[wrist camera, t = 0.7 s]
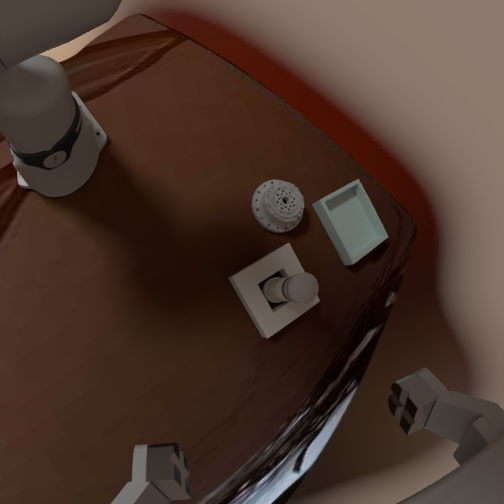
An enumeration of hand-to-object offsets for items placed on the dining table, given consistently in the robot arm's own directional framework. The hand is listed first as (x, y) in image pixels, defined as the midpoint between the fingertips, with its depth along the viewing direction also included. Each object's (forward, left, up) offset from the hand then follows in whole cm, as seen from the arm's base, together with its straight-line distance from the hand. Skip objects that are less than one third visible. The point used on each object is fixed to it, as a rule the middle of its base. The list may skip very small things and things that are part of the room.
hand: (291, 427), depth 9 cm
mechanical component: (-9, +26, -42) cm, 50 cm away
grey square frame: (+3, +17, -41) cm, 45 cm away
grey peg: (+3, +17, -41) cm, 45 cm away
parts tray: (0, +39, -41) cm, 57 cm away
